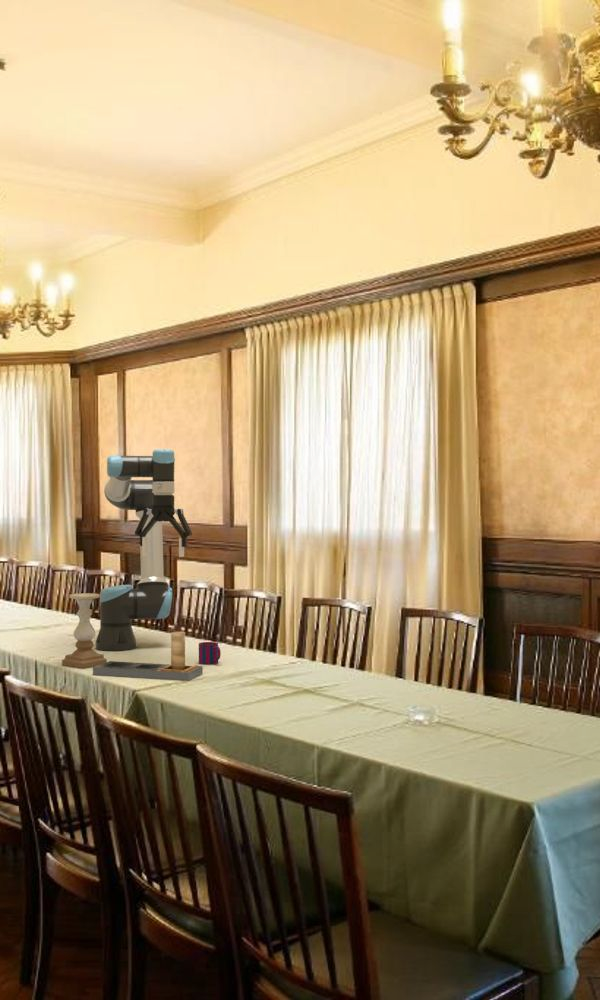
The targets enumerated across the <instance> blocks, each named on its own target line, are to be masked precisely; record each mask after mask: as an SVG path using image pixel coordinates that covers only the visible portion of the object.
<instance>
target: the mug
mask: <svg viewBox="0 0 600 1000" xmlns="http://www.w3.org/2000/svg"><path fill="white" fill-rule="evenodd" d="M221 654H222V653H221V647H219V642H217V641H203V642H202V641H201V642H199V643H198V665H207V666H208V665H217V664H219V660H220V659H221Z"/></svg>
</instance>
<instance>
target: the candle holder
mask: <svg viewBox="0 0 600 1000" xmlns="http://www.w3.org/2000/svg"><path fill="white" fill-rule="evenodd" d="M68 597H69V598H70V599H73V600H76V603H77V604H78V611H77V612H76V615H77V617H78V619H79V622H78V623H77V626H76V627H75V628H74V631H73V637H74V639H75V640H77V641H76V642H75V646H74V647H76V649H75V650H74V651H73V652H72V653H70V654H66V655H65V656H64V658H63V659H61V665H62V666H65V667H70V668H76V669H89V668H93V667H95V666H98V665H100V664H103V663H106V662H108V660H107V658H105V656H104V654H101V653H98V652H96V650H94V649H93V648H94V646H95V644H94V642H93V641H92V640H93V639H94V638H95V636H96V630H95V629H94V627H93V625H92V623H91V621H90V619H91V617H92V615H93V612H92V610H91V605H92V603H93V601H94V599H95V600H96V599H99V598H101V594H100V593H90V592H87V593H86V592H83V593H80V592H79V593H72V594H71V593H70V594H69V596H68Z"/></svg>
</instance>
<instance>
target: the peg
mask: <svg viewBox="0 0 600 1000" xmlns="http://www.w3.org/2000/svg"><path fill="white" fill-rule="evenodd" d="M170 637H171V638H170V640H171V641H170V644H171V645H170V646H171V647H170V649H171V650H170V654H171V655H170V657H171V658H170V664H171V669H176V670H185V665H186V632H185V631H171V633H170Z"/></svg>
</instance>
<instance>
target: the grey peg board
mask: <svg viewBox="0 0 600 1000" xmlns="http://www.w3.org/2000/svg"><path fill="white" fill-rule="evenodd" d="M203 668H204V667H203V665H202V666H201V665H199V664H195V665H187V664H185V670H176V669H171V663H169V664H165V663H153V662H152V663H151V662H135V661H134V662H133V661H115V660H109V661H107V662H106V663H103V664H100V665H98V666H95V667H92V675H93V676H101V677H102V676H107V677H121V678H122V677H123V678H137V679H152V678H153V680H171V681H184V680H187V682H188V681H191V680H194V679H196V678H197V677H200V676H201V674H202V675H203V673H204V672H203V670H204V669H203Z"/></svg>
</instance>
